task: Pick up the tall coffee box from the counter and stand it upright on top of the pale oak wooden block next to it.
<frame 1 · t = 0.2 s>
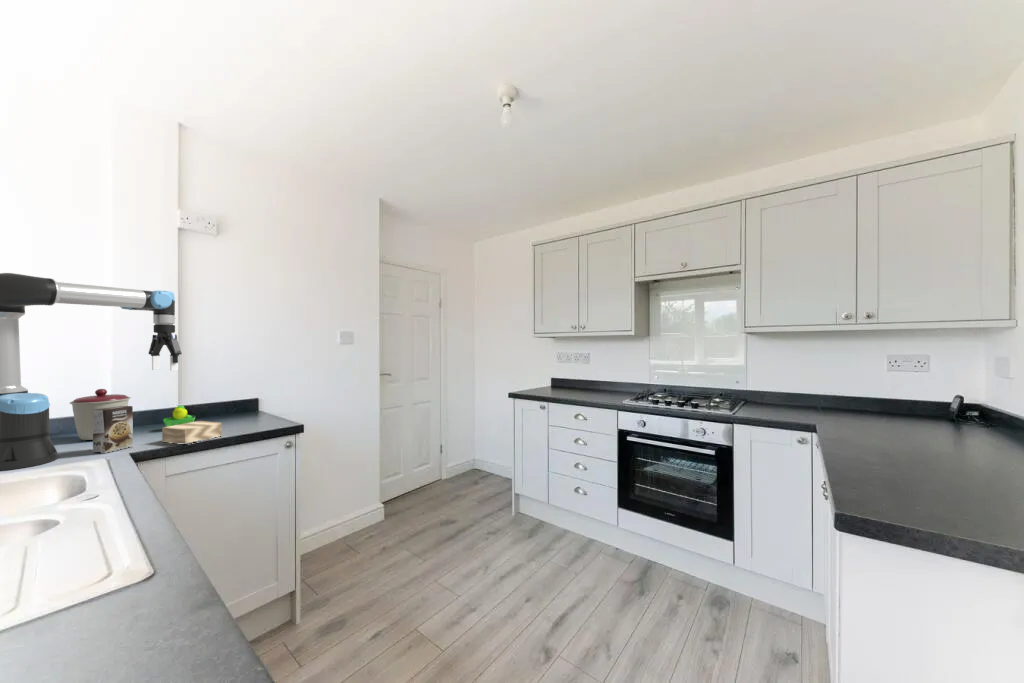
hand: (165, 370, 184), 28 cm above the worktop, tool pointing down, fingers open, 13 cm apart
canister: (101, 438, 169), on the worktop
oak block: (192, 439, 164), on the worktop
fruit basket: (179, 429, 186), on the worktop
coffee box: (113, 450, 150), on the worktop
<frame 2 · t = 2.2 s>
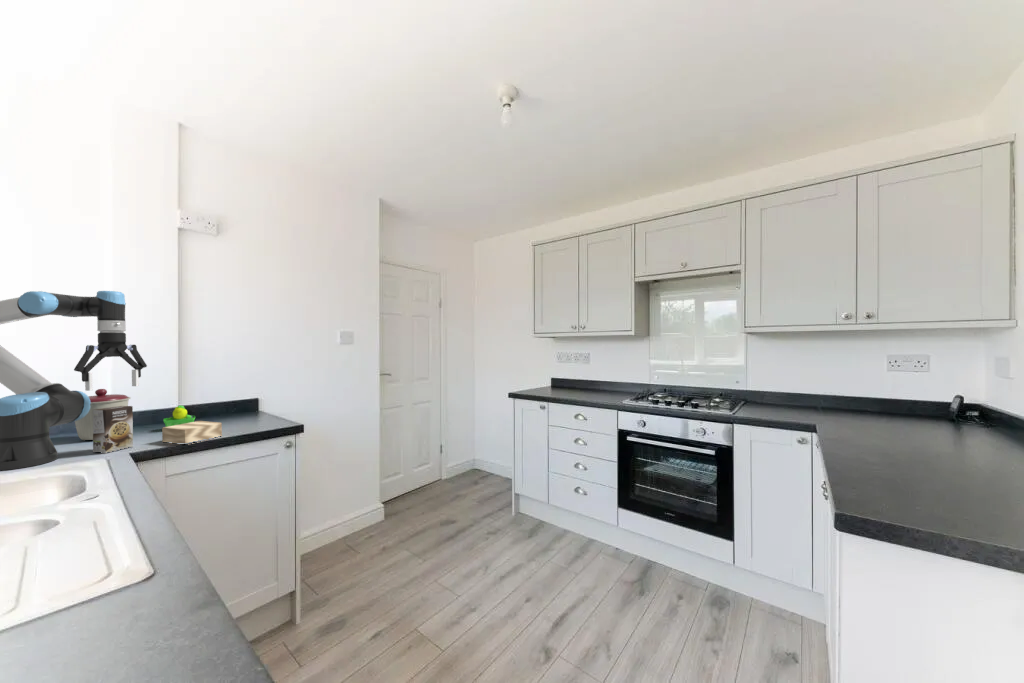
hand: (113, 388, 150), 23 cm above the worktop, tool pointing down, fingers open, 13 cm apart
nothing on the worktop moved.
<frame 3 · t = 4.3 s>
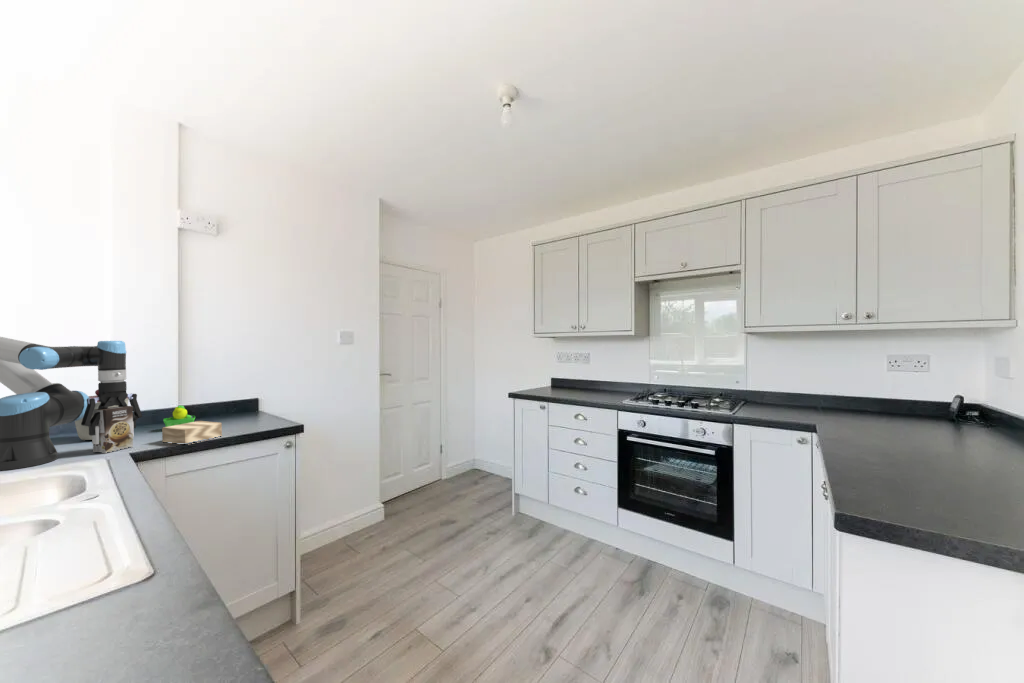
hand: (113, 440, 150), 4 cm above the worktop, tool pointing down, fingers closed on coffee box, 9 cm apart
coffee box: (113, 450, 150), on the worktop, touching gripper
everything else where it was.
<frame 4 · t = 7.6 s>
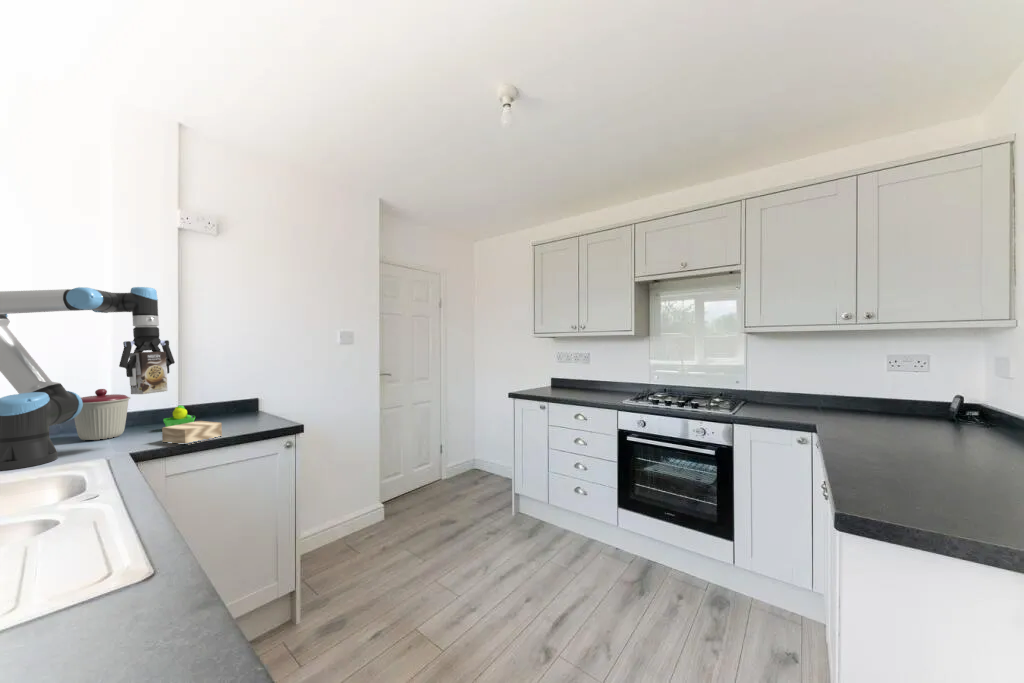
hand: (149, 383, 156), 24 cm above the worktop, tool pointing down, fingers closed on coffee box, 9 cm apart
coffee box: (149, 393, 156), point 21 cm above the worktop, touching gripper
everything else where it was.
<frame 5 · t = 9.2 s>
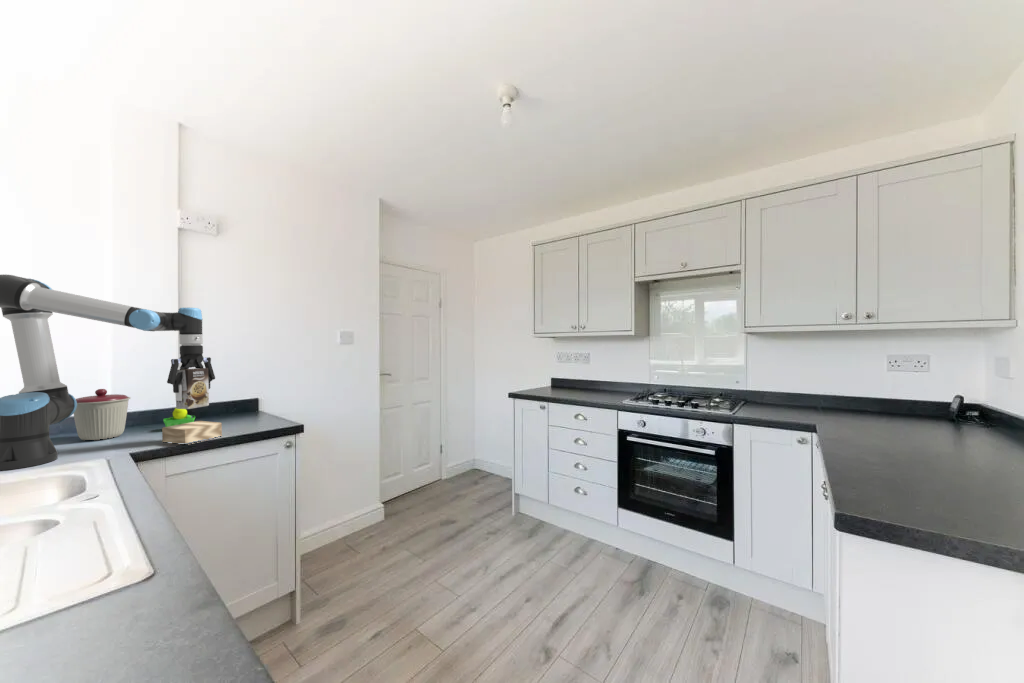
hand: (192, 398, 164), 17 cm above the worktop, tool pointing down, fingers closed on coffee box, 9 cm apart
coffee box: (193, 407, 164), point 13 cm above the worktop, touching gripper
everything else where it was.
when the fingers open (11 cm above the worktop, at t = 10.8 s): coffee box drops 1 cm, resting on oak block.
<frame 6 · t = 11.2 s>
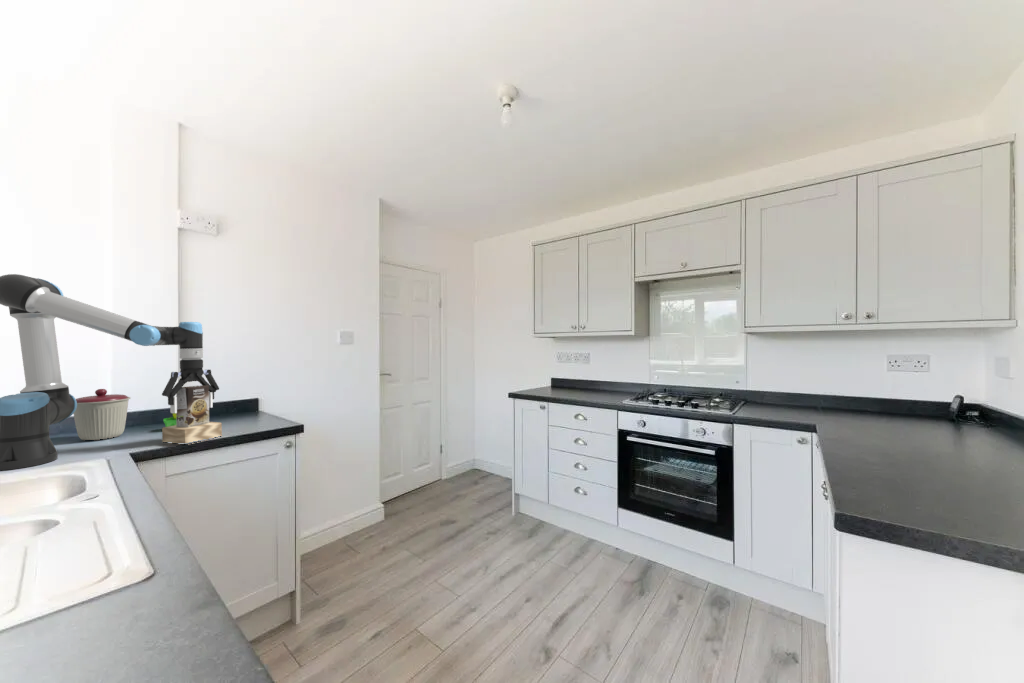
hand: (192, 410, 164), 12 cm above the worktop, tool pointing down, fingers open, 13 cm apart
coffee box: (193, 425, 165), point 6 cm above the worktop, touching oak block
everything else where it was.
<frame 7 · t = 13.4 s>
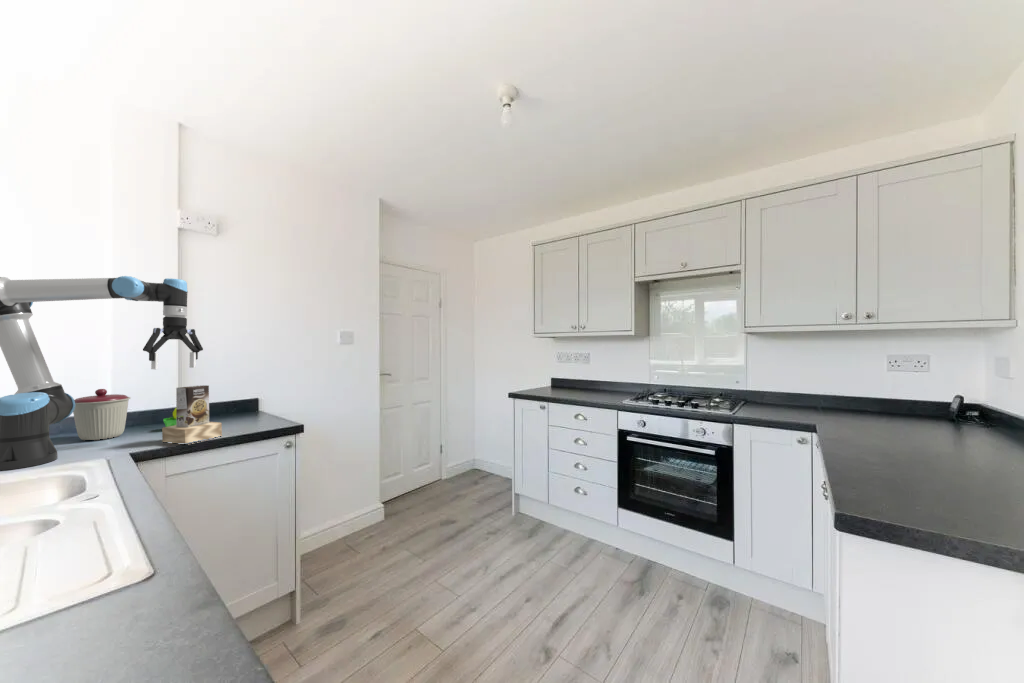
hand: (174, 368, 162), 30 cm above the worktop, tool pointing down, fingers open, 13 cm apart
nothing on the worktop moved.
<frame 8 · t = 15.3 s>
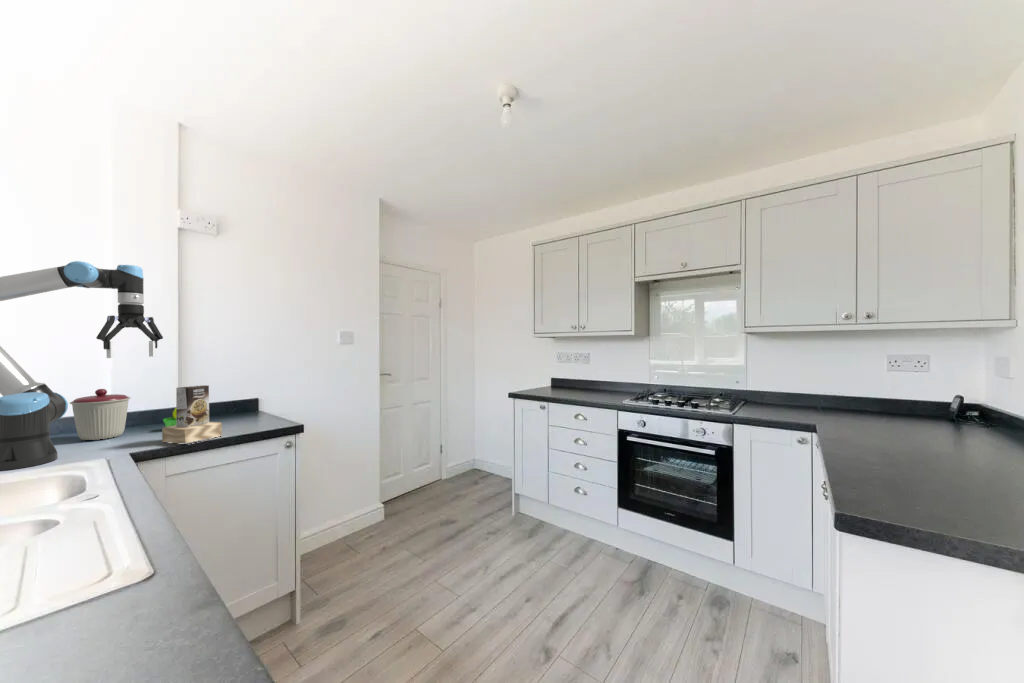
hand: (131, 357, 158), 35 cm above the worktop, tool pointing down, fingers open, 13 cm apart
nothing on the worktop moved.
at the end: coffee box inside the target area on the oak block (0.3 cm from its centre), point 5.8 cm above the oak block's base; coffee box tilted 0°; coffee box touching oak block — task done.
